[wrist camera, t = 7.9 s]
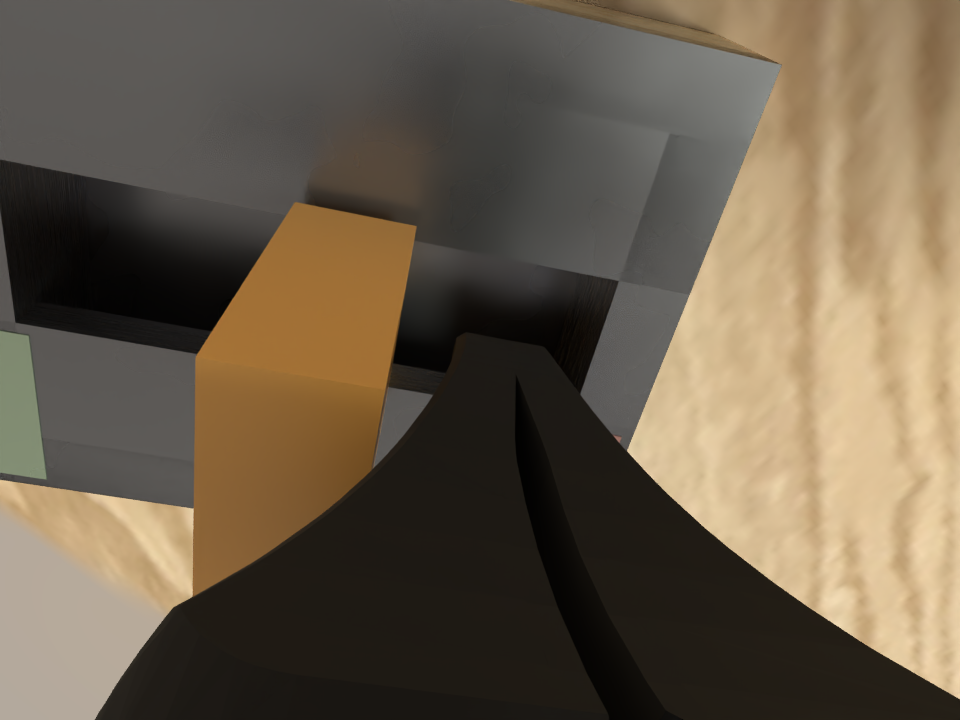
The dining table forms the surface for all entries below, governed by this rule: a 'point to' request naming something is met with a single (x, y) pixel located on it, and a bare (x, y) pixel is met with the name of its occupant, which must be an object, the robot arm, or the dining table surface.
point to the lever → (294, 384)
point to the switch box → (342, 197)
